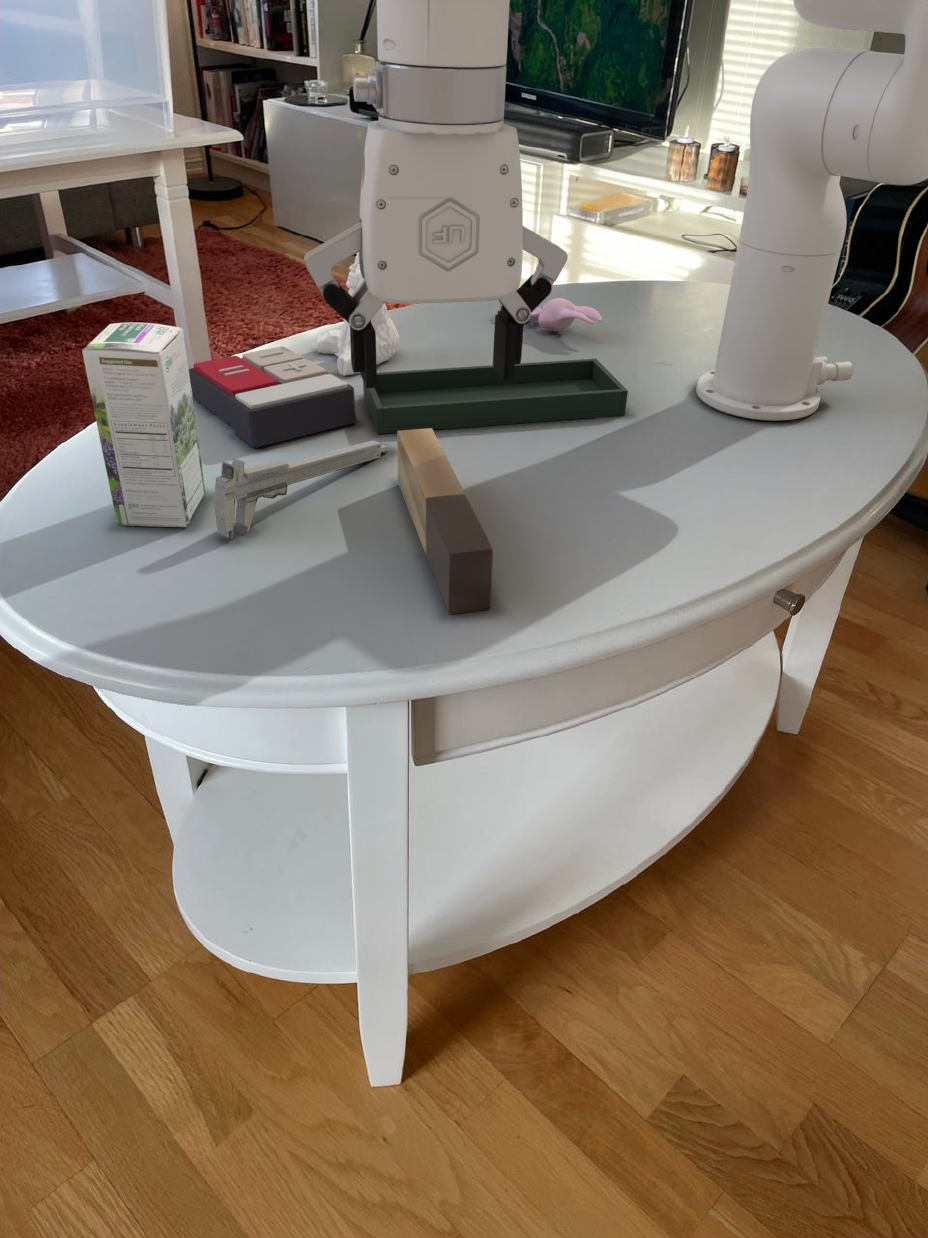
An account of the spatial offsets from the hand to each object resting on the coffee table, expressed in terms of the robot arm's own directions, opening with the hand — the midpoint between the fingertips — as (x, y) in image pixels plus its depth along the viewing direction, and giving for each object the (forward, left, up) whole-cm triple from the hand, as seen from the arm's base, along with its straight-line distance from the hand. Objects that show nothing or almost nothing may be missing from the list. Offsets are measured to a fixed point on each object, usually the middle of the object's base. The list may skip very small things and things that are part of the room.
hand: (436, 377), depth 65 cm
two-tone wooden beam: (0, 0, -13) cm, 13 cm away
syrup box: (+21, -9, -14) cm, 26 cm away
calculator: (+11, -28, -14) cm, 33 cm away
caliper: (+9, -10, -14) cm, 19 cm away
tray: (-11, -25, -13) cm, 31 cm away
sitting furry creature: (0, -41, -14) cm, 43 cm away
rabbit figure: (-24, -47, -14) cm, 55 cm away
